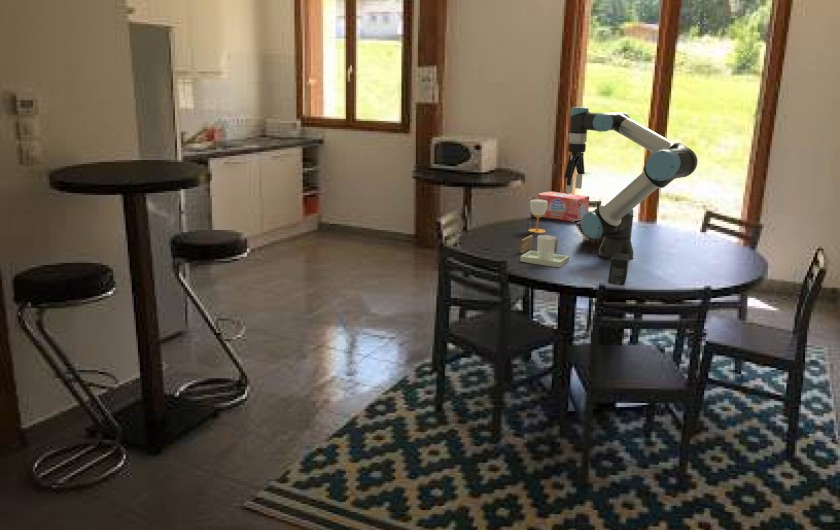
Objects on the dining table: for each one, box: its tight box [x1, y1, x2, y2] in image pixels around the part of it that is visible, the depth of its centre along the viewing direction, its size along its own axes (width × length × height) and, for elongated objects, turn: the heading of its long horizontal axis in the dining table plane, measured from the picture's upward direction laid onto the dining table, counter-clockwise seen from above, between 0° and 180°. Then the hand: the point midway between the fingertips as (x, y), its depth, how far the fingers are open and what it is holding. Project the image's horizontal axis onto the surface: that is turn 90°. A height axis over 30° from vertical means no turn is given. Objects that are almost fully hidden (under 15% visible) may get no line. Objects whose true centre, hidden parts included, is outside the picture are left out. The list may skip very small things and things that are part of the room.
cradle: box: [520, 234, 559, 254], centre depth 313 cm, size 13×12×6 cm
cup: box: [528, 198, 548, 234], centre depth 353 cm, size 9×9×16 cm
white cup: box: [536, 234, 557, 261], centre depth 297 cm, size 8×8×10 cm
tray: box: [519, 249, 570, 268], centre depth 298 cm, size 18×12×2 cm, turn 60°
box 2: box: [607, 252, 630, 286], centre depth 270 cm, size 11×7×10 cm, turn 158°
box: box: [537, 191, 590, 223], centre depth 386 cm, size 27×13×14 cm, turn 48°
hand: (573, 190), depth 306 cm, fingers open, 13 cm apart
